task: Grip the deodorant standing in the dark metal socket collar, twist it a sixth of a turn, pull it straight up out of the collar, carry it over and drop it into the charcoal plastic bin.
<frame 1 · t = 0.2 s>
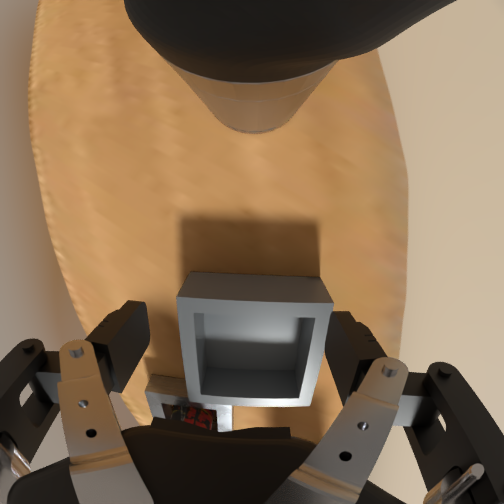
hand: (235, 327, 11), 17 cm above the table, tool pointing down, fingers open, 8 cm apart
deodorant: (195, 404, 36), resting in socket collar
bin: (252, 329, 32), on the table
socket collar: (194, 405, 36), on the table
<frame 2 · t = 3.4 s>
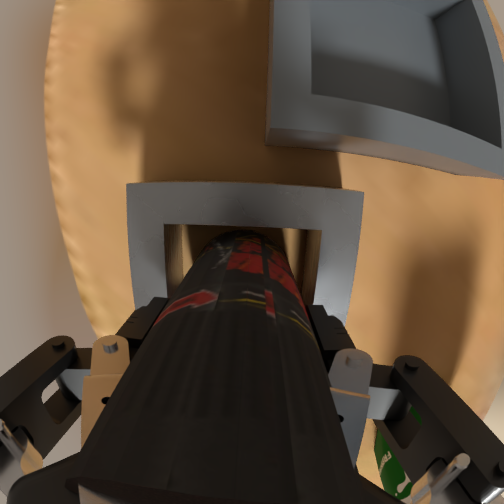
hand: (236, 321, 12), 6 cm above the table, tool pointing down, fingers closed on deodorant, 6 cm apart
deodorant: (242, 275, 18), resting in socket collar, touching gripper
bin: (374, 59, 13), on the table
socket collar: (242, 276, 17), on the table
milk carton: (405, 422, 22), on the table
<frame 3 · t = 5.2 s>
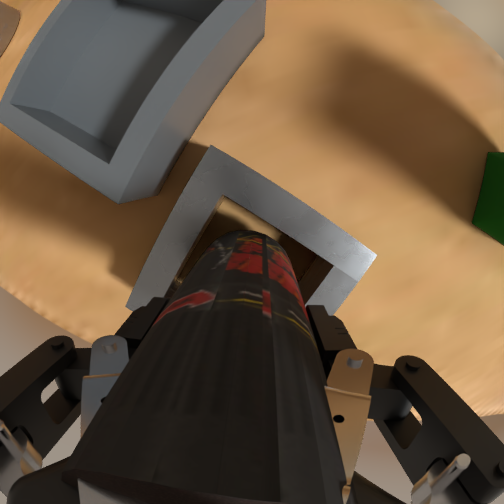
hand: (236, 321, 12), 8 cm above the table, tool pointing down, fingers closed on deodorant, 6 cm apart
deodorant: (245, 275, 18), point 2 cm above the table, touching gripper
bin: (133, 73, 16), on the table
socket collar: (246, 266, 20), on the table
milk carton: (498, 200, 18), on the table
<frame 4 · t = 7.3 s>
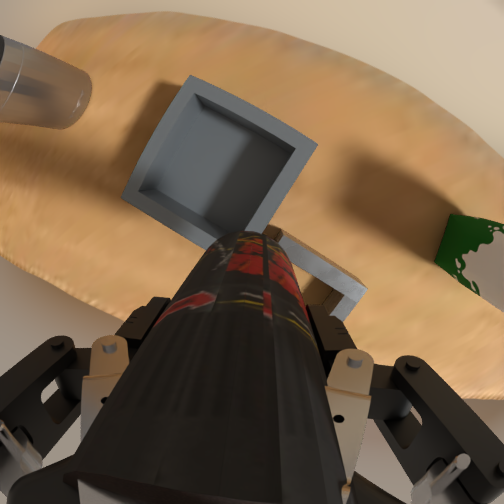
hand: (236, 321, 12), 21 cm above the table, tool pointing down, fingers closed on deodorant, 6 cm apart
deodorant: (245, 276, 18), point 15 cm above the table, touching gripper
bin: (222, 170, 30), on the table
socket collar: (295, 293, 34), on the table
milk carton: (457, 244, 31), on the table
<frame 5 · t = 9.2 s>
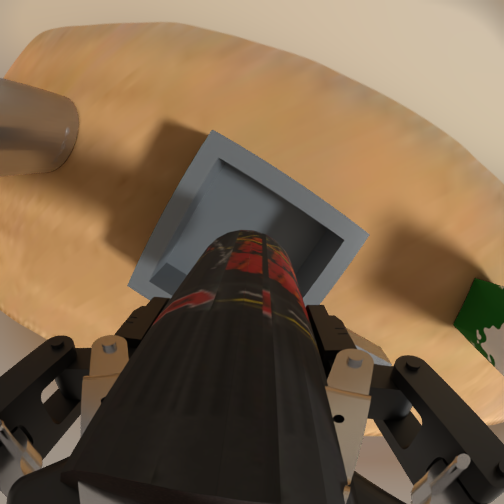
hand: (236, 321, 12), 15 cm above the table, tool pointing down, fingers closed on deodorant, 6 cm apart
deodorant: (245, 275, 18), point 9 cm above the table, touching gripper
bin: (245, 242, 26), on the table
socket collar: (317, 365, 30), on the table
milk carton: (476, 305, 29), on the table
when the fingers open (8 cm above the table, at t = 11.0 s): deodorant drops 1 cm, resting on bin.
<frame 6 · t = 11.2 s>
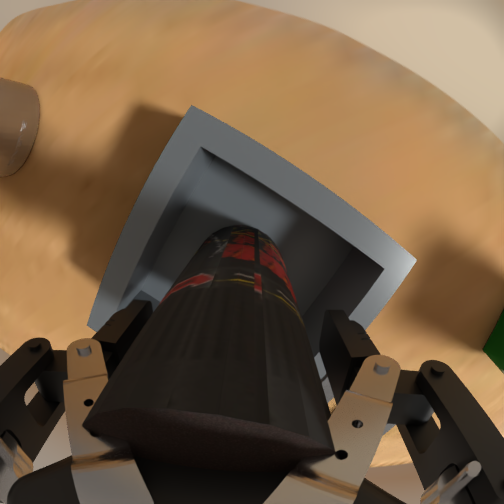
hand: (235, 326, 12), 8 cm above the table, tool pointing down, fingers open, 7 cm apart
deodorant: (239, 267, 19), point 1 cm above the table, touching bin
bin: (243, 264, 20), on the table
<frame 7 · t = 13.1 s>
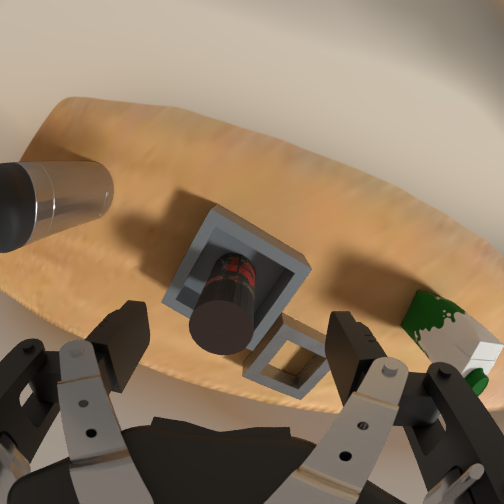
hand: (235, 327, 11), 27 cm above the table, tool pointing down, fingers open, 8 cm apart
deodorant: (233, 272, 39), point 1 cm above the table, touching bin
bin: (236, 271, 40), on the table
socket collar: (291, 353, 44), on the table
milk carton: (422, 310, 42), on the table
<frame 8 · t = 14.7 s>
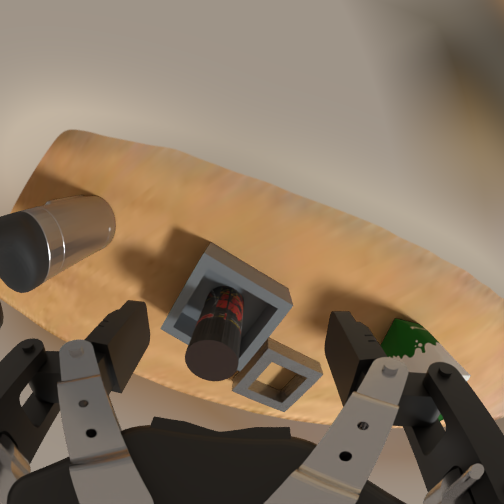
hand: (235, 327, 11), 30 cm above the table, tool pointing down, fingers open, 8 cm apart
deodorant: (224, 302, 43), point 1 cm above the table, touching bin
bin: (227, 300, 44), on the table
socket collar: (276, 371, 48), on the table
milk carton: (399, 336, 46), on the table
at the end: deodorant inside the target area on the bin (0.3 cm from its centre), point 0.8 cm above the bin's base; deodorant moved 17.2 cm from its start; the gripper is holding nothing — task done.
